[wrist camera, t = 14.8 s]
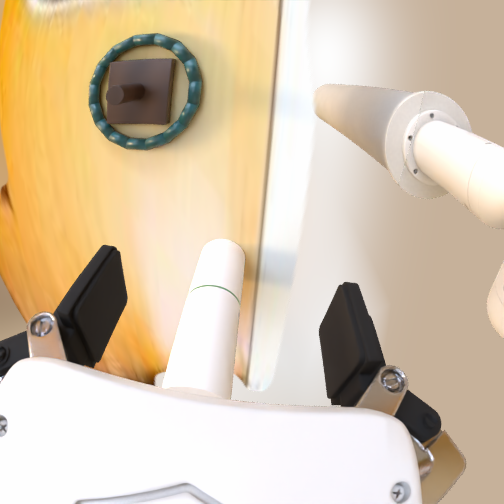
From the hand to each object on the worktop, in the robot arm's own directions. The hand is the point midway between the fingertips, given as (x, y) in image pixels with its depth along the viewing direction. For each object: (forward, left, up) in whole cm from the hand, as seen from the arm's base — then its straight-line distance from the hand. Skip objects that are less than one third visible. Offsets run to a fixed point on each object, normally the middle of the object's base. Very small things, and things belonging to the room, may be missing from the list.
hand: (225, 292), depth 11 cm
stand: (+16, -6, -28) cm, 33 cm away
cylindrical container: (+2, +19, -28) cm, 34 cm away
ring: (+16, -6, -27) cm, 32 cm away
